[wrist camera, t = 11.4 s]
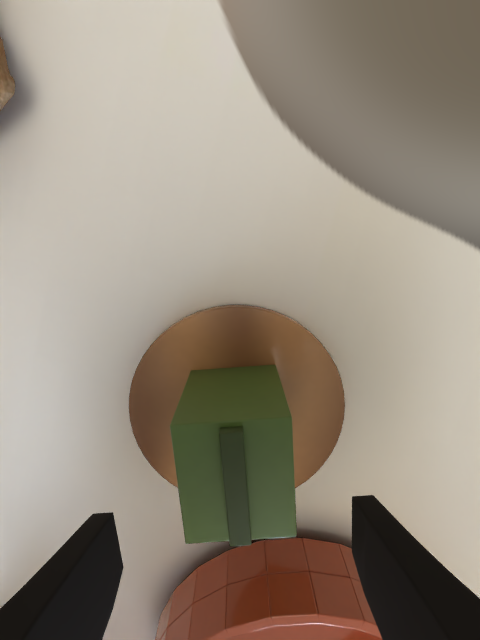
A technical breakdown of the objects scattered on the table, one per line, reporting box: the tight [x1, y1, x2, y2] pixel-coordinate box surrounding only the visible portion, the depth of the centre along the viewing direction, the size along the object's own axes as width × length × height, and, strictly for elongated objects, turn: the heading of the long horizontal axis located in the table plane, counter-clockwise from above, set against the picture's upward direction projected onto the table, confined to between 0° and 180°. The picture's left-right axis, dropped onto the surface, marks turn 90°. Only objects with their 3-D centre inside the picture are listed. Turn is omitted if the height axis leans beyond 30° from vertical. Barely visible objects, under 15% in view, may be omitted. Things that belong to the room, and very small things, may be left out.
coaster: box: [129, 305, 345, 488], centre depth 17 cm, size 11×11×1 cm
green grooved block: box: [170, 365, 297, 546], centre depth 14 cm, size 4×5×5 cm
